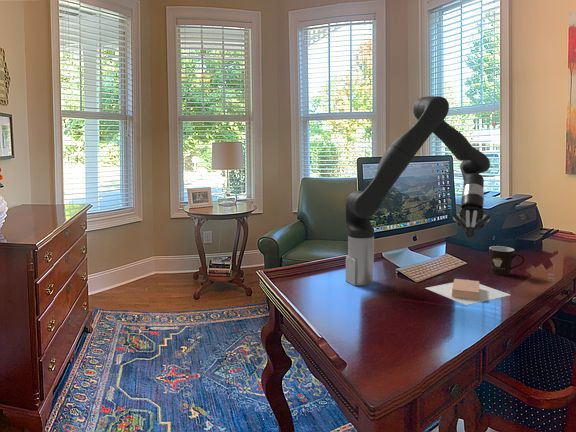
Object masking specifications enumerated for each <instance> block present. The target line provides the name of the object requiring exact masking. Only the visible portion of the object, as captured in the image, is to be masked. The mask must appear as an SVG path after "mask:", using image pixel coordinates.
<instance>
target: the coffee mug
mask: <svg viewBox="0 0 576 432" xmlns="http://www.w3.org/2000/svg"><path fill="white" fill-rule="evenodd" d="M488 250H489V251H488V252H489V268H490V273H491V274H492V275H496V276H501V277H502V276H503V277H504V276H505V277H507V276H510V274H511V270H513V269H515V268H517V267H520V266H521V265H523V264H524V263H525V257H524V256H523V255H522V254H519V253H518V254H517V253H515V248H512V247H509V246H504V245H503V246H501V245H496V246H495V245H492V246H489V248H488ZM516 257H520V258H521V259H522V262H521V263H520V264H517V265H514V266H512V264H513V260H514V258H516Z"/></svg>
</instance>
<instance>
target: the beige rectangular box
mask: <svg viewBox="0 0 576 432" xmlns="http://www.w3.org/2000/svg"><path fill="white" fill-rule="evenodd" d="M452 283H453V288H452V297H456V298H465V299H473V300H479V284H480V280H471V279H470V280H469V279H460V278H453V282H452Z"/></svg>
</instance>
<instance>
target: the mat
mask: <svg viewBox="0 0 576 432" xmlns="http://www.w3.org/2000/svg"><path fill="white" fill-rule="evenodd" d="M453 283H454V282H448V283H443V284H439V285H434V286H429V287H425V289H426V290H428V291H431V292H433V293H435V294H438V295H440V296H442V297H445V298H448V299H450V300H452V301H454V302H457V303H460V304H461V305H464V307H467V306H468V305H472V304H477V303H482V302H483V303H484V302H487V301H490V300H491V301H492V300H496V299H499V298H504V297H509V296H511V294H509V293H507V292H503V291H501V290H499V289H495V288H492V287H489V286H486V285H484V284H481V283H479V300H473V299H465V298H456V297H452V288H453Z"/></svg>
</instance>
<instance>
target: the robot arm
mask: <svg viewBox="0 0 576 432" xmlns="http://www.w3.org/2000/svg"><path fill="white" fill-rule="evenodd" d="M449 110H450V103H449V101H448V100H447V98H446V97H443V96H440V95H439V96H436V95H434V96H430V95H429V96H424V97H420V98H418V99H417V100H416V101H415V102H414V104H413V115H414V117H415V119H416V120H417V121H416V122H415V124H414V125H412V126H411V127H410V128H409V129H408V130H407V131H404V133H402V134H401V135H399V136H398V137H396V138H395V140H393V141H392V143H391V144H390V145H389V146H388V148H387V149H386V150H385V151H384V153H383V155H382V156H381V158H380V160H379V162H378V166H377V170H376V172H375V175H374V177H373V179H372V180H371V182H370V183H369V184H368V185H367V187H366V188H365V189H364V190H363V191H362V190H356V191H353V192H351V193H350V194H349V195H348V196H347V198H346V202H345V225H346V229H347V255H346V256H345V282H346V281H347V283H349V284H351V285H352V286H368V285H369V286H370V285H372V284H373V283H374V267H375V265H374V264H375V263H374V261H375V260H374V259H375V256H374V254H375V253H374V252H375V229H374V227H373V226H372V224H371V218H372V217H373V216H374V215H376V213H377V212H378V210H379V209H380V207H381V205H382V204H383V201H384V200H385V198H386V196H387V194H388V193H389V191H390V190H391V189H392V187H393V186H394V184H396V182H397V181H398V179H399V178H400V176H401V175H402V173H404V172H405V170H406V169H407V167H408V166H409V164H411V161H413V159H414V158H415V156H416V155H417V153H418V151H419V150H421V148H422V147H423V145H424V143H426V141H427V140H428V138H429V137H430V136H431V135H432V134H434V135H435V136H436V137H437V138H438V139H439V140H440V141H441V142H442V143H443V144H444V145H445V147H446V148H447V149H448V150H449V152H450V153H452V155H453V156H454V157H455V159H456V160H458V161H461V163H460V166H459V169H460V172H461V176H462V179H463V180H462V181H463V185H462V186H463V187H462V192H461V199H460V200H461V201H460V203H461V204H460V209H459V211H458V213H453V214H452V220H453V221H454V222H455V223H456V225H458V227H459V228H460V230H465V238H466V239H467V240H473V239H474V238H475V232H476V230H477V231H480V230H481V229H482V228H484V227H485V226H486V225H487V224H489V222H490V221H491V216H490V215H487V214H485V211H484V200H485V194H484V193H485V192H484V184H485V180H484V177H483V176H482V174H483V173H486V172H487V171H488V170H489V169H490V166H491V162H490V160H489V157H487V155H486V154H485V153H483V152H482V151H480V150H479V149H477V148H476V147H475V146H473V145H472V144H471V143H470V142H469V140H468V139H467V137H466V136H464V135H463V134H462V133H461V132H460V131H459V130H457V129H456V128H455V127H453V126H451V124H449V123H448V121H447V122H446V121H445V119H446V118H447V116H448V114H449ZM470 223H471V224H470Z"/></svg>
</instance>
